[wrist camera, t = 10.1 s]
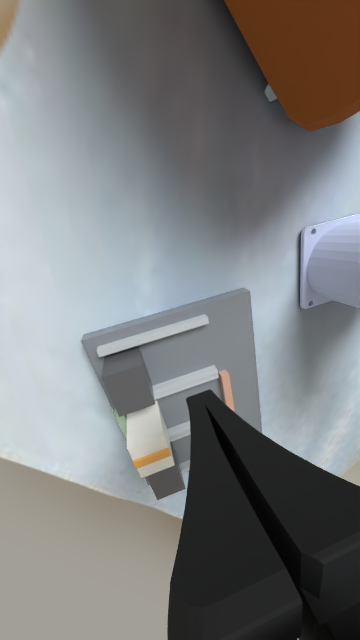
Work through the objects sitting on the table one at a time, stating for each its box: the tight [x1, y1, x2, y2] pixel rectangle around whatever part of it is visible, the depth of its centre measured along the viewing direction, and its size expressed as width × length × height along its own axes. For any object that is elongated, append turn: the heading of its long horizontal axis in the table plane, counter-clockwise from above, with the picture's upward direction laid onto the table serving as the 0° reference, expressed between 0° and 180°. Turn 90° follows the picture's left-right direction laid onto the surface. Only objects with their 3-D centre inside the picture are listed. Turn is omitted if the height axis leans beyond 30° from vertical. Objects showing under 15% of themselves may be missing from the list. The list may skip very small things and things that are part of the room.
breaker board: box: [81, 288, 262, 500], centre depth 21 cm, size 15×20×4 cm
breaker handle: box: [127, 400, 175, 478], centre depth 19 cm, size 3×4×4 cm
